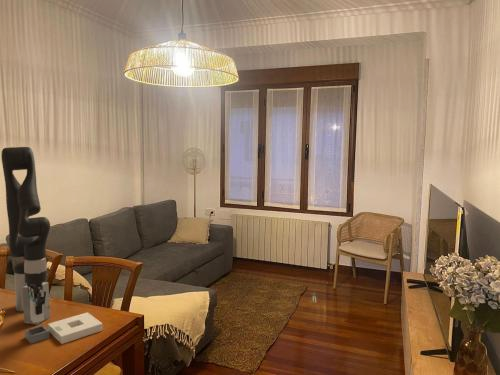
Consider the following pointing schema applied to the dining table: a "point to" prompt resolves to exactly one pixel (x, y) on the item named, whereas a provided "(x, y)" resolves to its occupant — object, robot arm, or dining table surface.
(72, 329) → the port plate
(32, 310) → the plug
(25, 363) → the dining table surface
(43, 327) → the holster
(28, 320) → the skincare box
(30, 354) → the dining table surface
